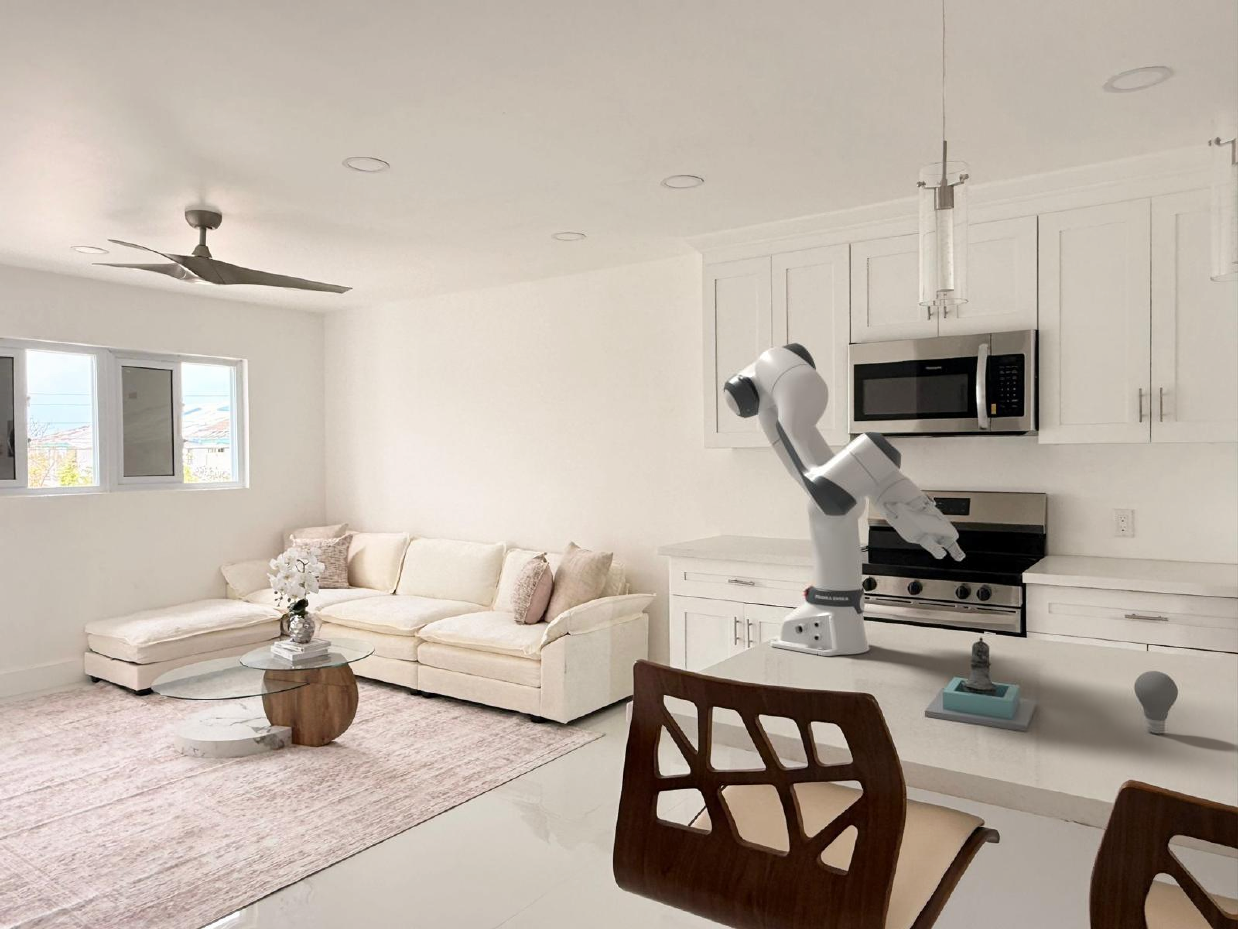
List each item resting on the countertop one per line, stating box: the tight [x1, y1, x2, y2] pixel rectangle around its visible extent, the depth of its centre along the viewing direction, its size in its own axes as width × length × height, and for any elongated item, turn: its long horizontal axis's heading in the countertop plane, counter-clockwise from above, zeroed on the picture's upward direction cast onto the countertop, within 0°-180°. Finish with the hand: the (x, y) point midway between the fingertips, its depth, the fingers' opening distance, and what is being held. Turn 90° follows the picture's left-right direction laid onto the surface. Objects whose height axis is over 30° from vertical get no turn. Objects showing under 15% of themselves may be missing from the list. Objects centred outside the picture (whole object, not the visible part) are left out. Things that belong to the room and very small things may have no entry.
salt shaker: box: [962, 636, 998, 696], centre depth 150 cm, size 6×6×12 cm
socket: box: [924, 676, 1037, 733], centre depth 150 cm, size 16×16×4 cm
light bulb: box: [1133, 670, 1179, 735], centre depth 138 cm, size 6×6×10 cm
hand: (952, 557), depth 159 cm, fingers open, 8 cm apart
